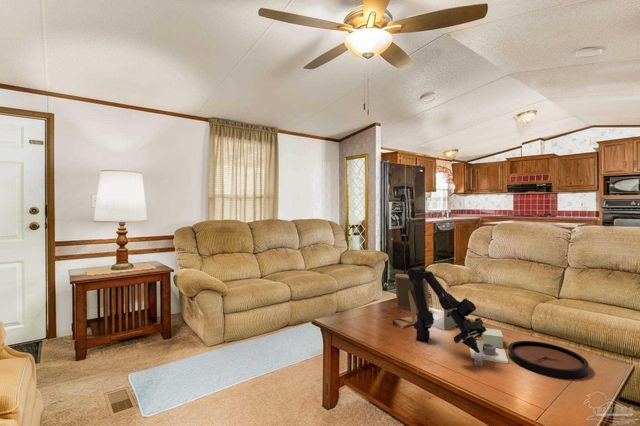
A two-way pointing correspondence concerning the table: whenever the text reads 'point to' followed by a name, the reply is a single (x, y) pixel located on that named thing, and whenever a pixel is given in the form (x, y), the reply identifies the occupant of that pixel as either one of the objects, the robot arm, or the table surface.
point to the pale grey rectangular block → (444, 321)
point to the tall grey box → (408, 293)
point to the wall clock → (548, 359)
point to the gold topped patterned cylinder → (480, 346)
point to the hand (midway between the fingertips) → (481, 351)
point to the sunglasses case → (405, 322)
